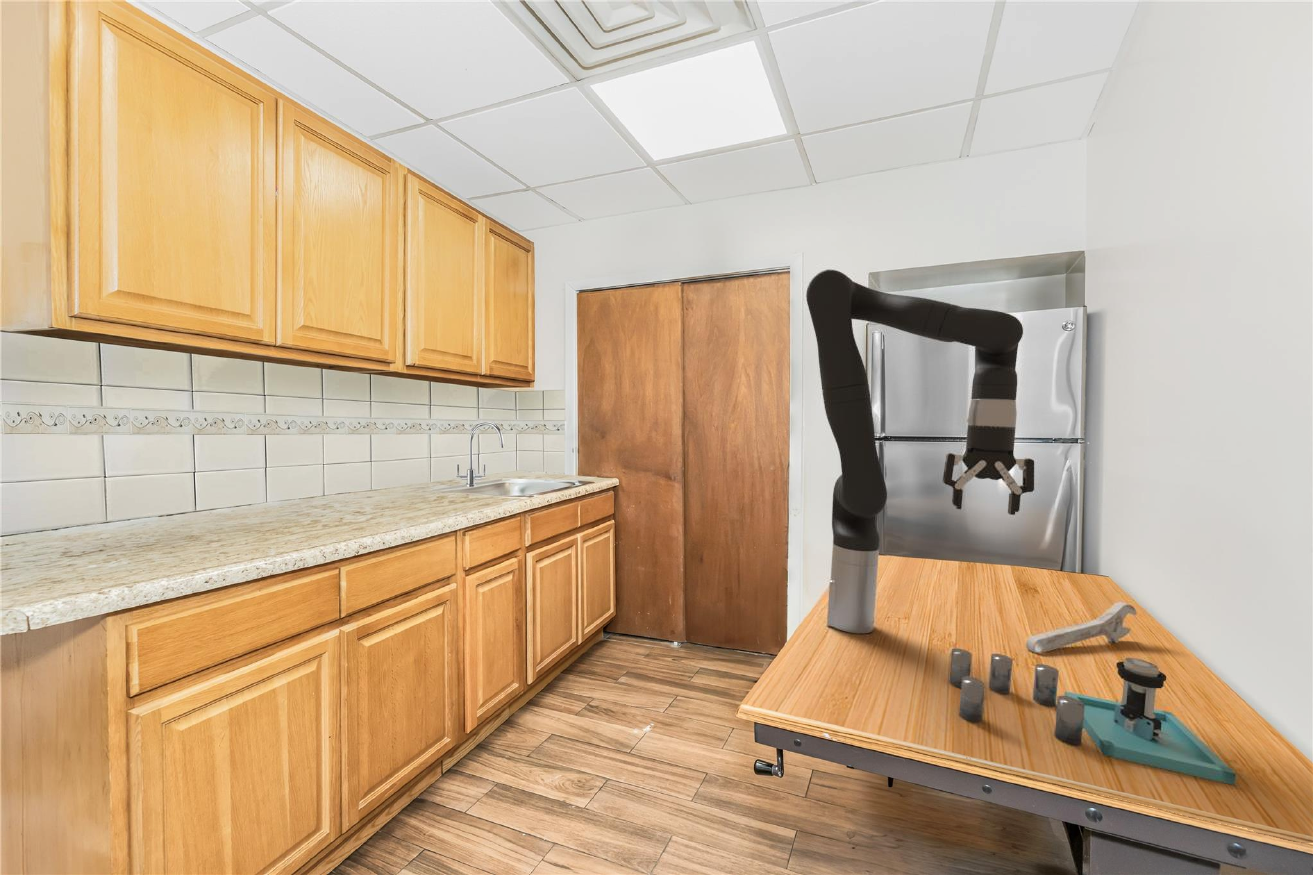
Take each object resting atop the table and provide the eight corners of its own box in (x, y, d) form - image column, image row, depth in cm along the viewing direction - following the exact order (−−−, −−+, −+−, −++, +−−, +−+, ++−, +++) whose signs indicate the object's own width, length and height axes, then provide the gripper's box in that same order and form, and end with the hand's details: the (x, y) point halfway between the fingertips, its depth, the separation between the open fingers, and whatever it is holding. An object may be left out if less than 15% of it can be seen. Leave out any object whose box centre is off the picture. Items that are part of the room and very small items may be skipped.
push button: (1181, 745, 74) (1188, 675, 73) (1154, 749, 72) (1160, 678, 72) (1128, 718, 80) (1134, 653, 80) (1102, 722, 79) (1107, 656, 78)
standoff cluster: (960, 719, 79) (963, 683, 78) (947, 675, 93) (949, 644, 92) (1084, 748, 73) (1088, 709, 73) (1050, 696, 87) (1053, 663, 87)
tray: (1102, 754, 72) (1103, 743, 72) (1064, 700, 86) (1065, 691, 86) (1234, 785, 67) (1235, 773, 67) (1170, 722, 81) (1171, 712, 81)
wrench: (1025, 664, 106) (1127, 635, 115) (1034, 668, 104) (1137, 638, 113) (1025, 625, 105) (1127, 599, 114) (1034, 629, 104) (1137, 602, 113)
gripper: (950, 422, 97) (944, 510, 98) (1043, 426, 92) (1035, 519, 93) (945, 422, 104) (939, 504, 105) (1031, 426, 99) (1024, 513, 100)
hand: (984, 511), depth 99 cm, fingers open, 8 cm apart
